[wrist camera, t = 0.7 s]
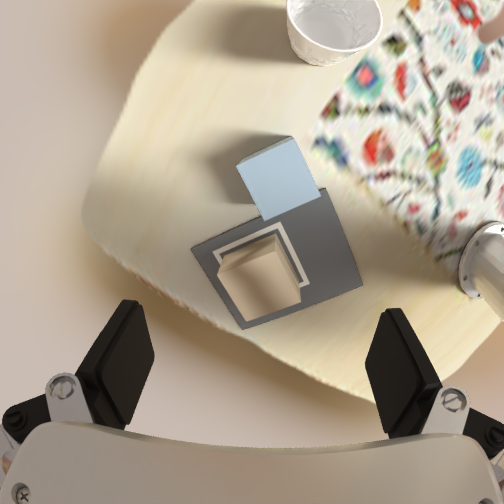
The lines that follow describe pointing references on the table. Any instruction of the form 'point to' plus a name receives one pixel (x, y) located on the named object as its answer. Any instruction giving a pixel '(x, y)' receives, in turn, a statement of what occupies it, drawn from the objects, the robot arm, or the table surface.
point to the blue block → (278, 178)
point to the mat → (291, 254)
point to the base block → (260, 278)
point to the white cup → (331, 28)
